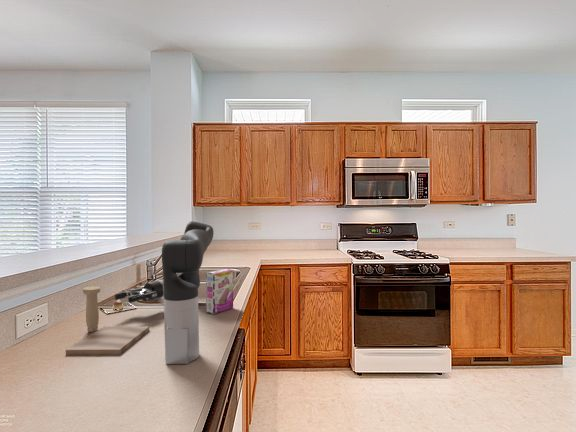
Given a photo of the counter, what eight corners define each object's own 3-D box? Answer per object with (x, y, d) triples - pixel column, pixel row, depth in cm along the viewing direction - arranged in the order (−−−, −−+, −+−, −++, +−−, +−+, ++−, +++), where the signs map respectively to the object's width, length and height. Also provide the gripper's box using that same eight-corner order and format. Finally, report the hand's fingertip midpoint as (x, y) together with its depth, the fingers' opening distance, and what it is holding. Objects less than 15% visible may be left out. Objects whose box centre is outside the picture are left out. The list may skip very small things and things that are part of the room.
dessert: (98, 310, 149) (98, 298, 149) (128, 304, 157) (127, 294, 157) (106, 316, 140) (106, 304, 140) (137, 310, 148) (137, 298, 148)
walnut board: (119, 354, 101) (119, 349, 101) (65, 354, 101) (65, 349, 101) (149, 330, 121) (149, 326, 121) (103, 330, 121) (103, 326, 121)
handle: (95, 327, 125) (94, 285, 125) (104, 330, 121) (103, 287, 121) (81, 331, 121) (80, 288, 121) (89, 334, 117) (88, 290, 117)
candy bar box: (214, 314, 138) (213, 273, 138) (205, 312, 141) (205, 272, 141) (234, 308, 147) (233, 269, 147) (226, 306, 150) (225, 268, 150)
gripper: (147, 278, 148) (110, 286, 134) (169, 282, 141) (133, 290, 127) (147, 296, 148) (111, 305, 134) (169, 300, 141) (133, 311, 127)
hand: (122, 298), depth 131 cm, fingers open, 8 cm apart
